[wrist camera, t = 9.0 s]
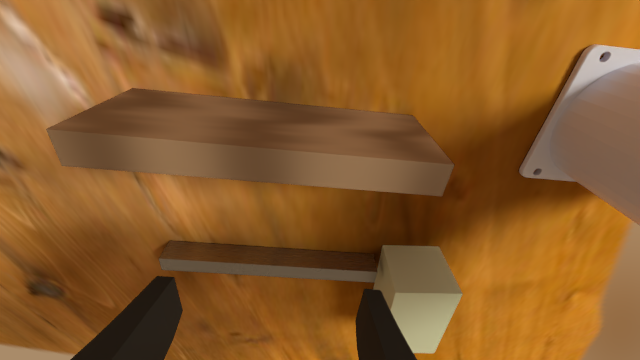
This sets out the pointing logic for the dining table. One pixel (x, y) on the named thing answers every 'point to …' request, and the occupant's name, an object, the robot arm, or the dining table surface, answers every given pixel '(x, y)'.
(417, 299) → the cabinet block
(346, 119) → the wall board
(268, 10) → the dining table surface
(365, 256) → the strip
